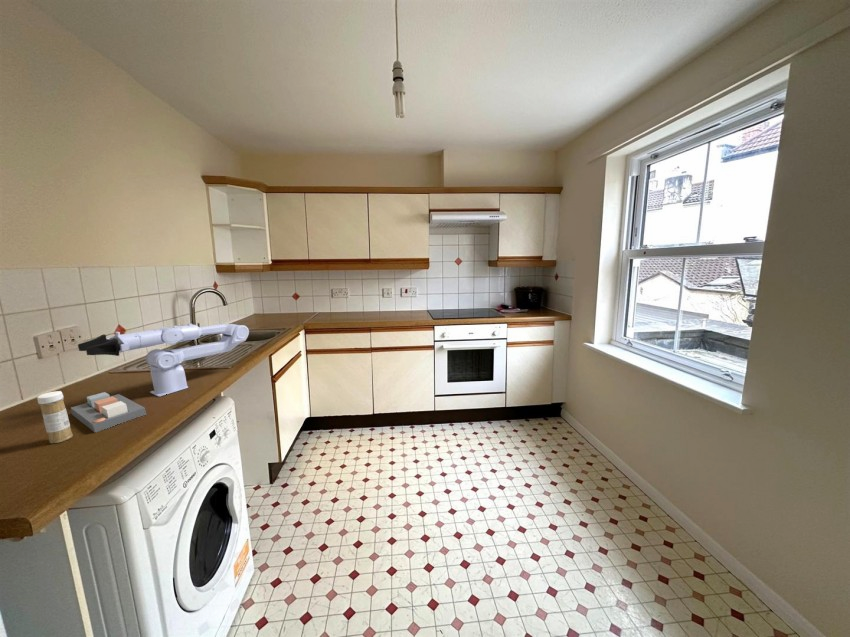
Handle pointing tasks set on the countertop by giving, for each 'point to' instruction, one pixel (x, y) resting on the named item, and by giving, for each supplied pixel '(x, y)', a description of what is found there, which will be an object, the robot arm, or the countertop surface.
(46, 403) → the spice jar
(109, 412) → the off-white button
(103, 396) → the grey button
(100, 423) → the console
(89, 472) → the countertop surface
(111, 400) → the terracotta button
